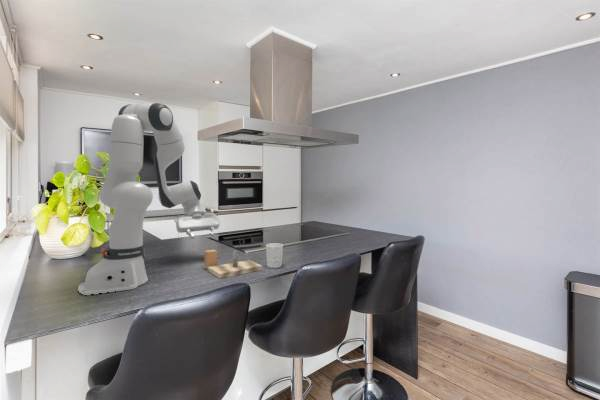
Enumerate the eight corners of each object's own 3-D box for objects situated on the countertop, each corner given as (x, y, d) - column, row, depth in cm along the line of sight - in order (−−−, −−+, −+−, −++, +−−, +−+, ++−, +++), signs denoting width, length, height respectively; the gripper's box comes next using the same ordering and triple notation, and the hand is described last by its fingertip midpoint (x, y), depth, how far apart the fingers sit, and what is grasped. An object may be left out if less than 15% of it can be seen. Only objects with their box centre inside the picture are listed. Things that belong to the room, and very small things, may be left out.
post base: (219, 278, 121) (219, 256, 121) (208, 271, 131) (207, 251, 130) (262, 270, 134) (262, 250, 133) (248, 264, 143) (248, 245, 143)
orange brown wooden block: (208, 270, 133) (208, 252, 132) (204, 268, 136) (204, 250, 136) (217, 268, 135) (217, 251, 135) (213, 266, 139) (213, 249, 138)
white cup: (278, 269, 136) (279, 247, 135) (263, 267, 138) (263, 245, 137) (285, 264, 143) (285, 243, 142) (270, 263, 146) (270, 242, 145)
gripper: (174, 211, 141) (181, 235, 134) (215, 209, 154) (224, 230, 147) (171, 219, 145) (178, 243, 138) (212, 216, 158) (220, 238, 151)
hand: (202, 236), depth 142 cm, fingers open, 8 cm apart
